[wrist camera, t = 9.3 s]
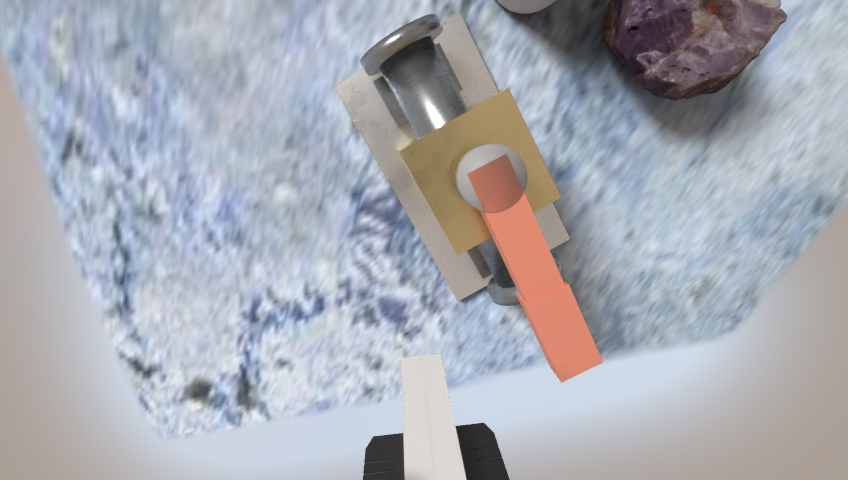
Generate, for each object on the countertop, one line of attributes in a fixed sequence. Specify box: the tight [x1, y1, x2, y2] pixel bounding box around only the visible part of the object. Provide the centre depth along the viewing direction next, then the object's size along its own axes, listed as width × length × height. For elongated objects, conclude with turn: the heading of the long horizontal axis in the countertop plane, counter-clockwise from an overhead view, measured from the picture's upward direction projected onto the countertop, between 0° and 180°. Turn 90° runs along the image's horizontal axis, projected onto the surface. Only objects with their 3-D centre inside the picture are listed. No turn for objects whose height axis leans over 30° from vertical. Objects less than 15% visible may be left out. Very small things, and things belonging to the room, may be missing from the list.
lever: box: [455, 144, 603, 382], centre depth 27 cm, size 16×4×2 cm, turn 26°
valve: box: [333, 12, 570, 306], centre depth 33 cm, size 12×22×12 cm, turn 29°
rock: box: [603, 0, 787, 101], centre depth 34 cm, size 12×9×10 cm
